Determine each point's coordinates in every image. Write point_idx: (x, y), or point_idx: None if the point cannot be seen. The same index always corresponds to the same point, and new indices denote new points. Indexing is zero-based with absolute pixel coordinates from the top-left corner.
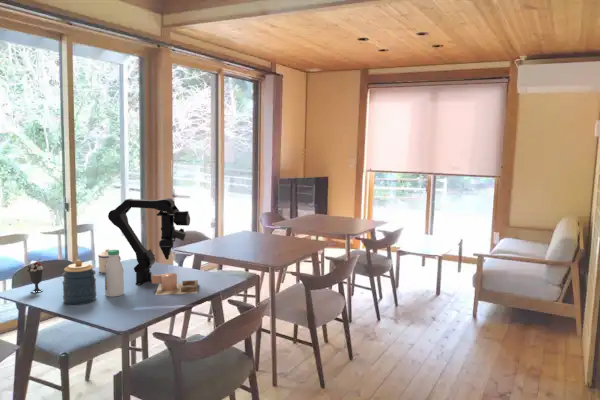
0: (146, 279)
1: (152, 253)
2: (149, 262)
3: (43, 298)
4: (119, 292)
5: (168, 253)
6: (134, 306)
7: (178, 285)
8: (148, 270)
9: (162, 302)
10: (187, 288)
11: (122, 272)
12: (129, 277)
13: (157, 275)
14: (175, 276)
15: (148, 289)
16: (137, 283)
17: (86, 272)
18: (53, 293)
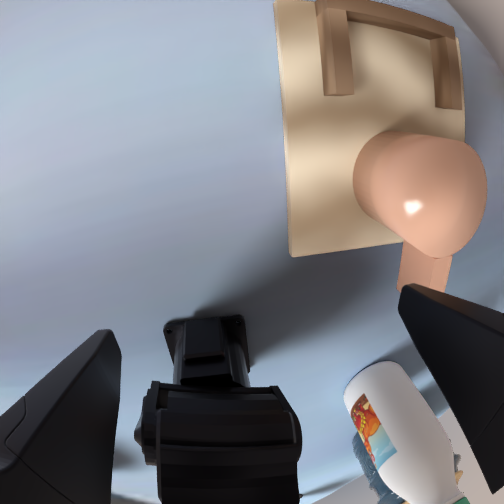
0: (235, 346)
1: (166, 476)
2: (292, 420)
3: (346, 474)
4: (404, 371)
5: (492, 321)
6: (496, 275)
7: (335, 123)
8: (223, 379)
9: (498, 189)
10: (455, 76)
11: (430, 426)
12: (128, 410)
13: (441, 278)
14: (470, 149)
15: (340, 291)
16: (249, 366)
17: (455, 467)
18: (313, 480)
